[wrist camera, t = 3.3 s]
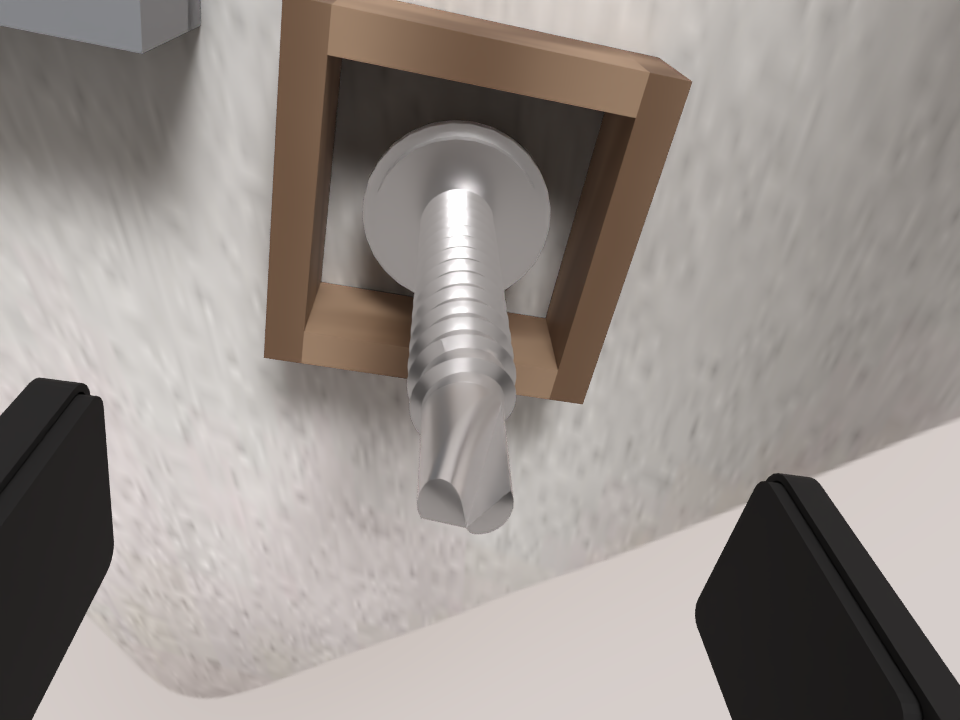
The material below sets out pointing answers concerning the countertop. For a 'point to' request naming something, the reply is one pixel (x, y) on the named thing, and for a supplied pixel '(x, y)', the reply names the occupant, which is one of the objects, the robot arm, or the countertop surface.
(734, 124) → the countertop surface
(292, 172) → the frame
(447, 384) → the screw
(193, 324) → the countertop surface
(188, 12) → the bin
